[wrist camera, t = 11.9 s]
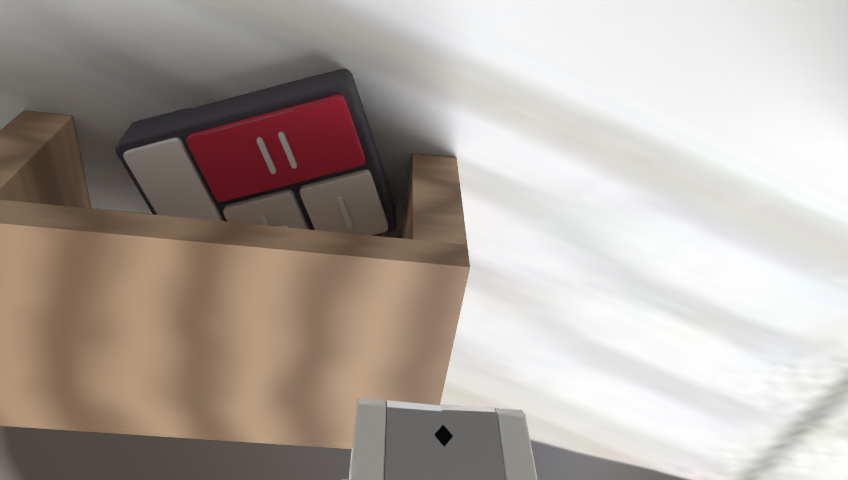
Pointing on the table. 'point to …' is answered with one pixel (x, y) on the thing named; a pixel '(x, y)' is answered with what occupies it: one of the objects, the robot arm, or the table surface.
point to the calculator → (266, 160)
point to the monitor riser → (214, 308)
